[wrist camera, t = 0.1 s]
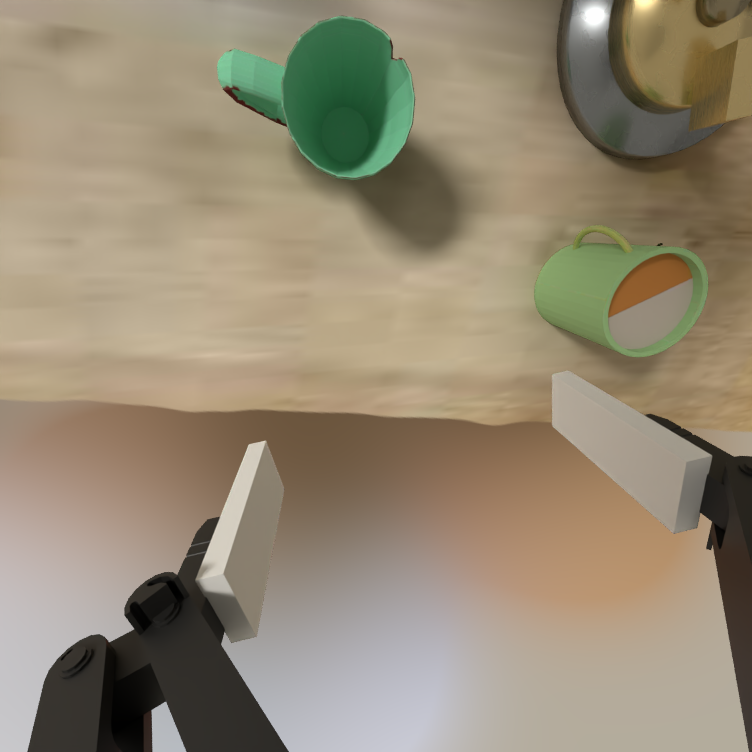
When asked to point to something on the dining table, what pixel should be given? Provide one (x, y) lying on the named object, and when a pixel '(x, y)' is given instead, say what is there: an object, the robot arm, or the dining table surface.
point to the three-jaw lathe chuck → (684, 57)
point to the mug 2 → (623, 293)
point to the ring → (610, 91)
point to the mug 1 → (331, 95)
